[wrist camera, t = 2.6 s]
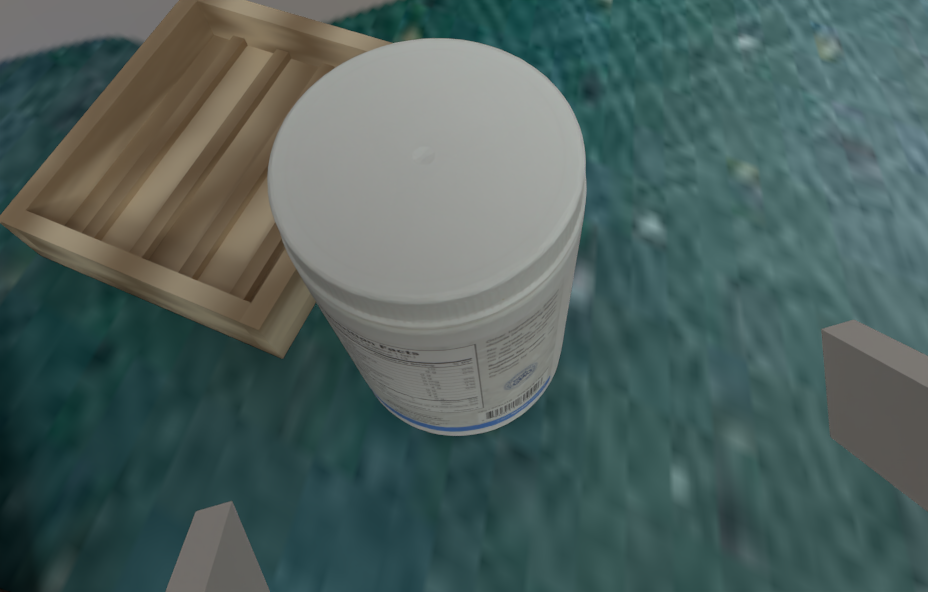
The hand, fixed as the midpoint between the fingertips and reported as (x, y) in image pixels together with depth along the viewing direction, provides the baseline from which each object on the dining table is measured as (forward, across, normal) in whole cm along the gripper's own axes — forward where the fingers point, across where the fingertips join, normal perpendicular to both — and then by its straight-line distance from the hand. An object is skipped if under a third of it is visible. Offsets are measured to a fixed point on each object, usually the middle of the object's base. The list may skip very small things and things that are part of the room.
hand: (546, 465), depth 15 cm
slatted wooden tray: (+27, -9, +5) cm, 29 cm away
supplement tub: (+18, 0, -4) cm, 18 cm away
